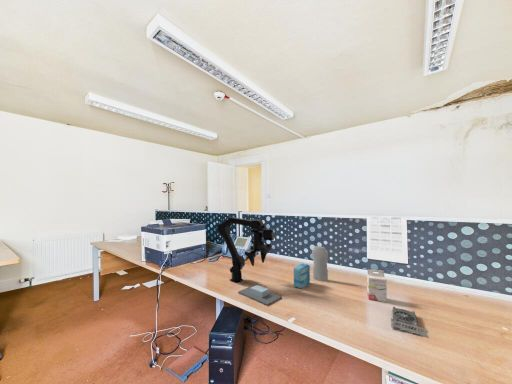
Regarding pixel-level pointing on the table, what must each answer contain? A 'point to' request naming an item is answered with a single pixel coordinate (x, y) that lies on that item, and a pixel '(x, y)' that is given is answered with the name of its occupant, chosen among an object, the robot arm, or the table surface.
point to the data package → (301, 275)
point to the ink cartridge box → (376, 286)
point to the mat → (265, 300)
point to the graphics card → (406, 322)
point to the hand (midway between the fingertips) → (258, 264)
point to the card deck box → (259, 291)
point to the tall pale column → (320, 263)
